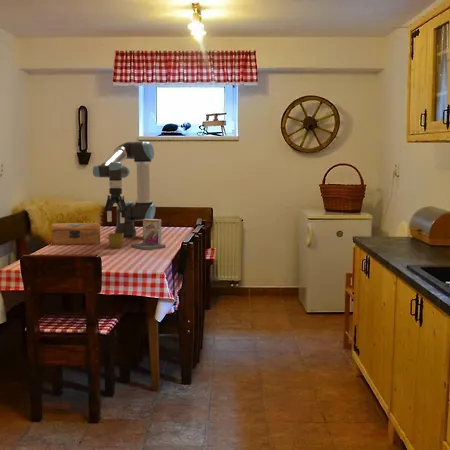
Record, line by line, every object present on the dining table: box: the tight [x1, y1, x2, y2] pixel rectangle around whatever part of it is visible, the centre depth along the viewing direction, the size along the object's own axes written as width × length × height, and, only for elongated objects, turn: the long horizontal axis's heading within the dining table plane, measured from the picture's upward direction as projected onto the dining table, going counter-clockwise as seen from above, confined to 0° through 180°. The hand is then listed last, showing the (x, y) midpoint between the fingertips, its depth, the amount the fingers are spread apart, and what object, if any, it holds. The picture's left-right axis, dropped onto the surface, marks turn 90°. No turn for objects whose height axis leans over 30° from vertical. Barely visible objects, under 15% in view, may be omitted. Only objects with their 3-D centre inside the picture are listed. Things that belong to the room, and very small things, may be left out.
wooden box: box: [50, 222, 101, 245], centre depth 390 cm, size 30×16×14 cm, turn 100°
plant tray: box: [130, 242, 167, 251], centre depth 375 cm, size 15×15×2 cm
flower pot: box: [107, 232, 125, 249], centre depth 374 cm, size 9×9×9 cm
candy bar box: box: [142, 218, 162, 244], centre depth 392 cm, size 11×5×16 cm, turn 71°
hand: (115, 222), depth 373 cm, fingers open, 13 cm apart
